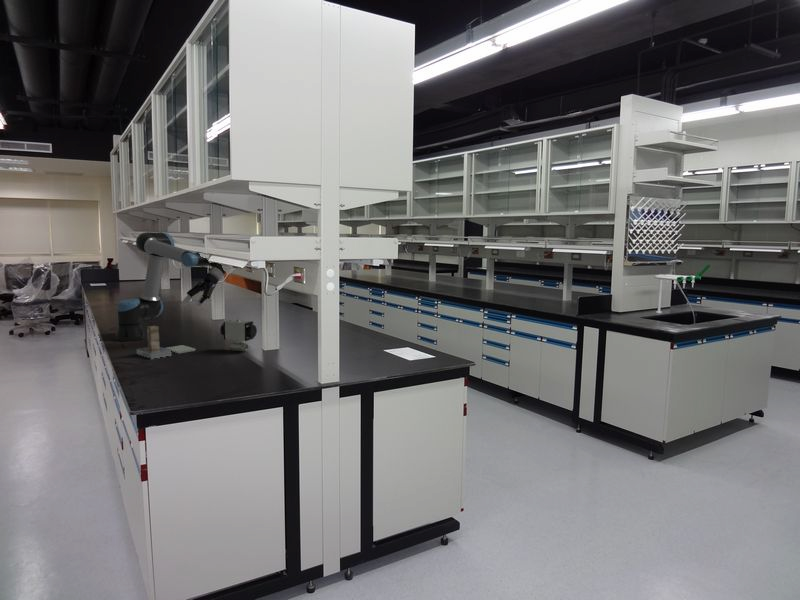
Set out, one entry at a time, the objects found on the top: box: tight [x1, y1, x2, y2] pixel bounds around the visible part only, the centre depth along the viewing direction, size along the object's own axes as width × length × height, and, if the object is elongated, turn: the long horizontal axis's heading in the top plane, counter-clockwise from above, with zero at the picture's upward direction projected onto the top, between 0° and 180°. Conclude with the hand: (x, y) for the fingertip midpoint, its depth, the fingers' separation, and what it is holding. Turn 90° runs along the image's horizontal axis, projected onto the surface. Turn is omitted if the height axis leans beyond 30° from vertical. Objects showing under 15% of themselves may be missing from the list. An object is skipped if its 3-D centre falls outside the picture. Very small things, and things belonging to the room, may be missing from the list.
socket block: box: [136, 346, 172, 360], centre depth 264 cm, size 16×10×3 cm, turn 50°
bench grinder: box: [219, 317, 258, 352], centre depth 277 cm, size 18×8×18 cm, turn 76°
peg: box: [146, 325, 161, 351], centre depth 263 cm, size 4×4×15 cm
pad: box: [164, 344, 197, 354], centre depth 277 cm, size 14×10×1 cm
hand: (188, 306), depth 276 cm, fingers open, 13 cm apart
